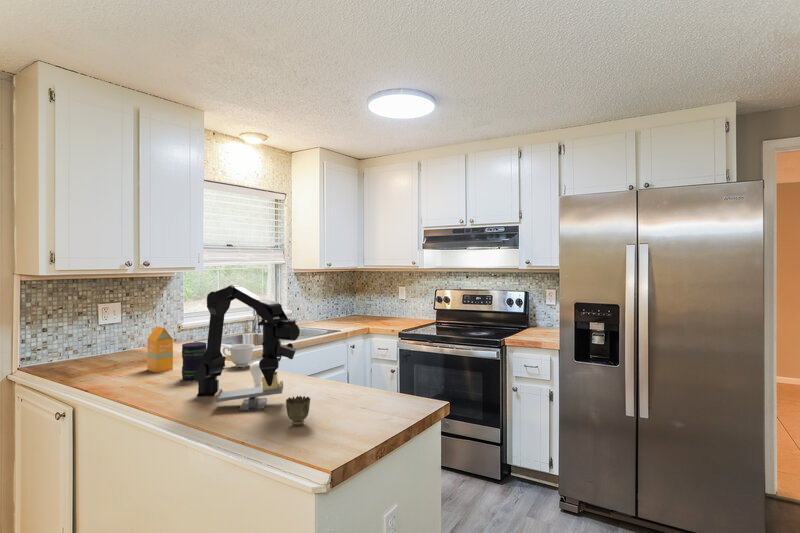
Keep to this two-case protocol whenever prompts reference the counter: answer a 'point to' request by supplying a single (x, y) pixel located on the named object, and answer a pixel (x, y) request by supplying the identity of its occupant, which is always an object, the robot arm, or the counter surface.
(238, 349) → the teacup
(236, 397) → the beam
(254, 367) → the lightbulb
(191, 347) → the dark blue cylinder
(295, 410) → the cup
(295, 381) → the counter surface
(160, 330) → the orange juice
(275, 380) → the golden cube
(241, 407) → the pivot stand
